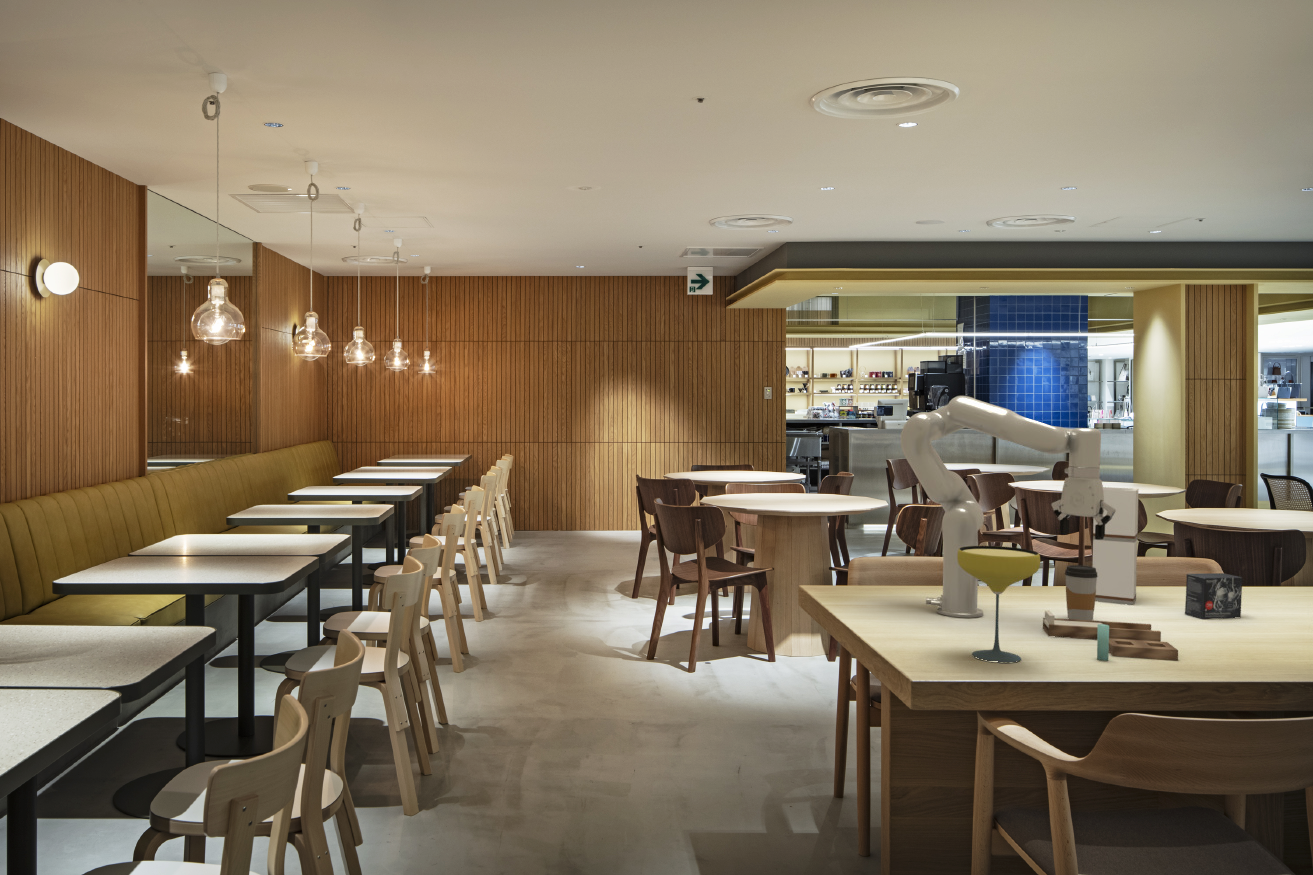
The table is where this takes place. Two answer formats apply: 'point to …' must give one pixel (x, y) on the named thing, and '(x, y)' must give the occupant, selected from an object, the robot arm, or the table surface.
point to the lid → (1050, 620)
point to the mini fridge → (1117, 548)
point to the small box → (1213, 595)
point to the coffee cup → (1080, 591)
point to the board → (1115, 630)
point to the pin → (1103, 642)
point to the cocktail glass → (998, 580)
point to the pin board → (1142, 649)
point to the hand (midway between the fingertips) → (1081, 536)
